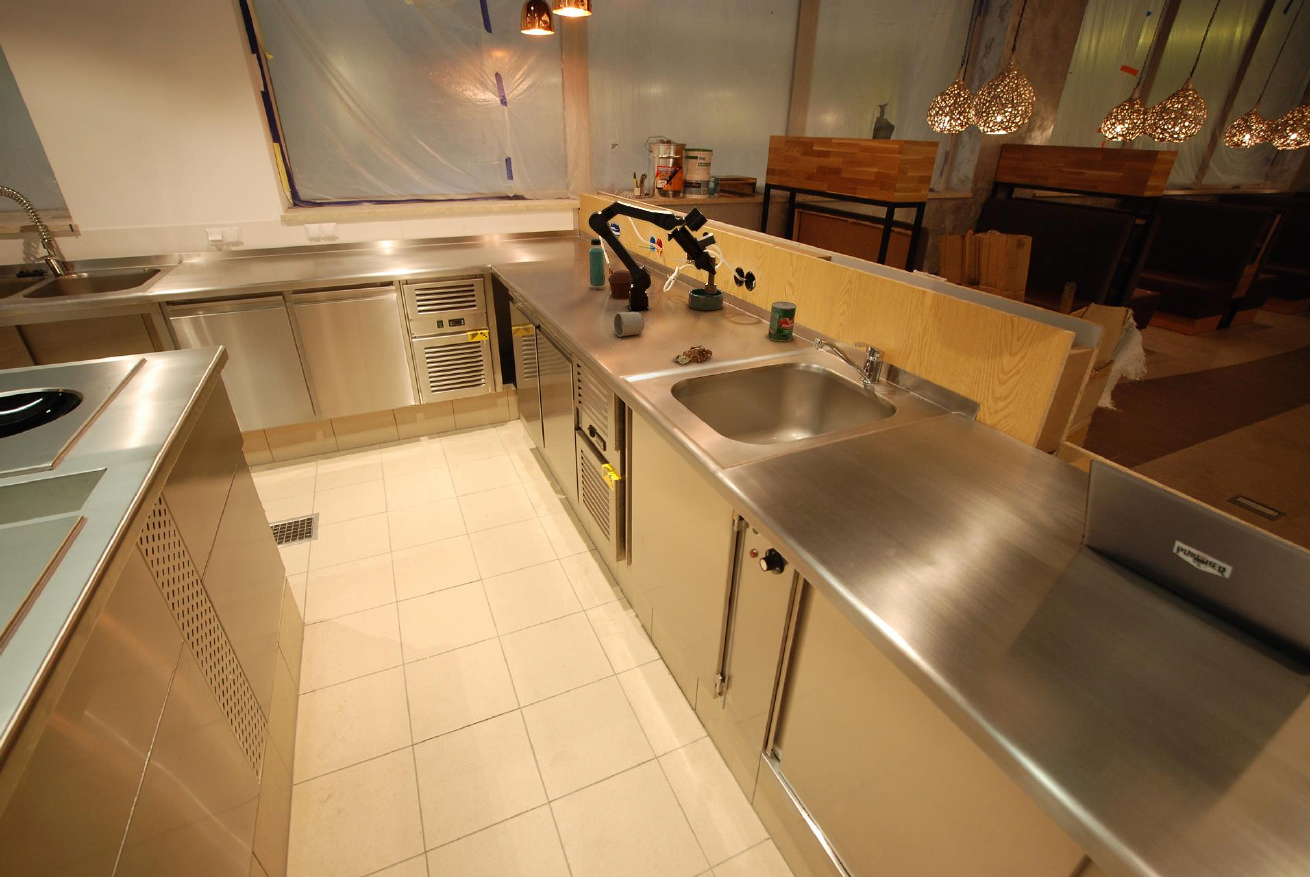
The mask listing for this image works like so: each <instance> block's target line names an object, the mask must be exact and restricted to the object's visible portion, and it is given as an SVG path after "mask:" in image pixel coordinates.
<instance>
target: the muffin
mask: <svg viewBox="0 0 1310 877" xmlns="http://www.w3.org/2000/svg"><path fill="white" fill-rule="evenodd" d="M607 281H608V282H609V287H610V288H609V289H610V293H611V294H610V295H611V296H612V297H613V298H614V299H619V300H621V299H622V300H626V299H627V300H628V299H629V291H630V284H631V283H632V282H633V279H632V276H631V274H630V272H629V270H628V269H627V270H626V269H619V270H615V271H614V272H612V273H611V274H610V275H609V277H608V278H607Z"/></svg>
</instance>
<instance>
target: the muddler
mask: <svg viewBox="0 0 1310 877" xmlns="http://www.w3.org/2000/svg"><path fill="white" fill-rule="evenodd" d="M710 256H711V258H710V262H711V264H712V266H713V267H714V269H715V270H716V263H717V256H716V255H710ZM707 274H708V276H707V282H706V283H705V284H704V288H705V293H709V294H713V293H716V289H717V287H718V284H717V283H715V279H716V277H715V276H716V274H715V275H714V274H711V273H709V272H707ZM717 290H718V289H717Z"/></svg>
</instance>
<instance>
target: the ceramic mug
mask: <svg viewBox="0 0 1310 877" xmlns="http://www.w3.org/2000/svg"><path fill="white" fill-rule="evenodd" d="M613 326H614V332H615V334H616V336H618V337H619V338H621V337H628V336H633V335H634V336H635V335H639V334H641V333H643V331H644V328H645V320H644V317H643V315H642V314H641V313H640V312H638V311H637V312H636V311H630V312H629V311H628V312H616V313H615V315H614V318H613Z"/></svg>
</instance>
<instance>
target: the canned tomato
mask: <svg viewBox="0 0 1310 877" xmlns="http://www.w3.org/2000/svg"><path fill="white" fill-rule="evenodd" d="M796 311H797V304H795V303H793V302H789V301H774V302H772V303H771V308H770V316H769V325H768V334H767V338H768V339H769V340H772V341H775V342H790V341H791V340H793V333H794V326H795V320H796V319H795V318H796Z"/></svg>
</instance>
